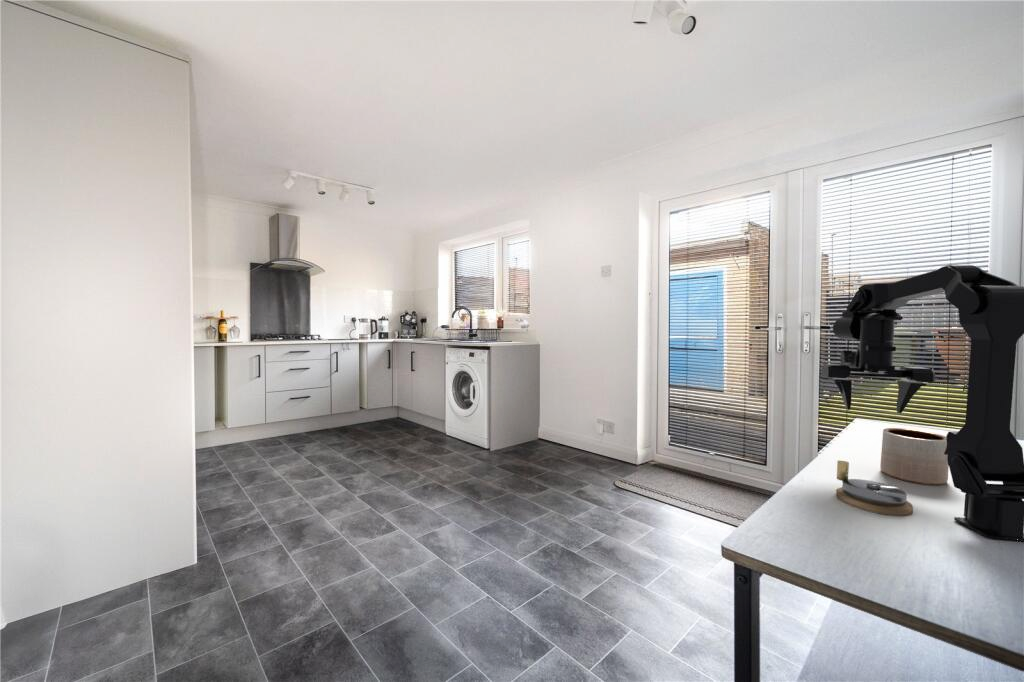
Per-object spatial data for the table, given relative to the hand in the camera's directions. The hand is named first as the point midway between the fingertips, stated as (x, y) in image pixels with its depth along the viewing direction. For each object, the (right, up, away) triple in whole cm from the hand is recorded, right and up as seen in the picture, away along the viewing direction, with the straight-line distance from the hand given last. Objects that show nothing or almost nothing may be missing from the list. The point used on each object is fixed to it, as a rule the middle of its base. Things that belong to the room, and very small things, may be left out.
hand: (873, 411), depth 96 cm
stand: (-13, -15, -15) cm, 25 cm away
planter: (+8, -14, -1) cm, 16 cm away
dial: (-13, -13, -15) cm, 24 cm away
